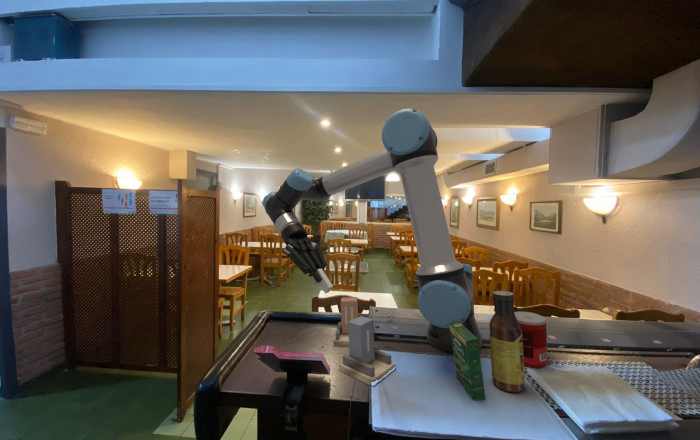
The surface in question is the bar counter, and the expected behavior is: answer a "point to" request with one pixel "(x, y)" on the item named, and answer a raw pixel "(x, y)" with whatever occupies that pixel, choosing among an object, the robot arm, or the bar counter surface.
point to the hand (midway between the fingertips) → (329, 289)
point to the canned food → (533, 338)
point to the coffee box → (467, 361)
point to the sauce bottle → (506, 344)
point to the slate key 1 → (361, 339)
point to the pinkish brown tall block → (348, 312)
